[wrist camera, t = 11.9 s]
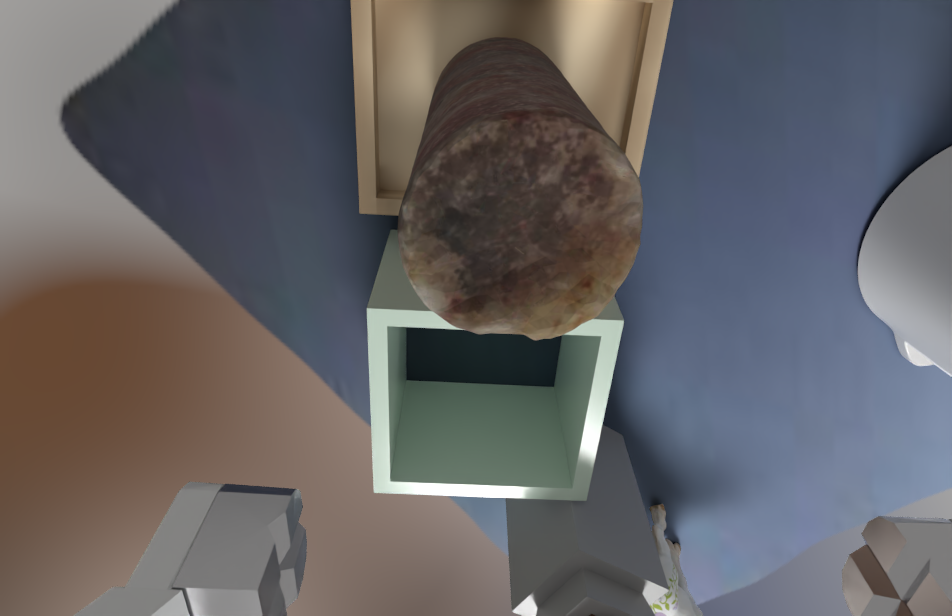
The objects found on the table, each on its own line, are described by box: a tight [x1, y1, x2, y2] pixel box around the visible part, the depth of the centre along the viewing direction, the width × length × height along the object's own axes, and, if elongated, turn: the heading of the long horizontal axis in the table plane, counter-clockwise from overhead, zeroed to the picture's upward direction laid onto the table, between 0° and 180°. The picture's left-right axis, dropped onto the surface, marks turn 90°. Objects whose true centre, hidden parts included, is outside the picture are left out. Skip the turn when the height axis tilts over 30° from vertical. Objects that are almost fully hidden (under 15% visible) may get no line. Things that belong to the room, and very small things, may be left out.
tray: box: [351, 0, 673, 216], centre depth 34 cm, size 16×13×2 cm
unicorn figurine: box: [650, 504, 703, 616], centre depth 48 cm, size 7×20×13 cm, turn 46°
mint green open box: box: [367, 230, 624, 501], centre depth 38 cm, size 13×13×10 cm
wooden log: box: [397, 37, 643, 340], centre depth 26 cm, size 8×7×20 cm
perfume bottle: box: [506, 425, 669, 616], centre depth 41 cm, size 7×7×18 cm
